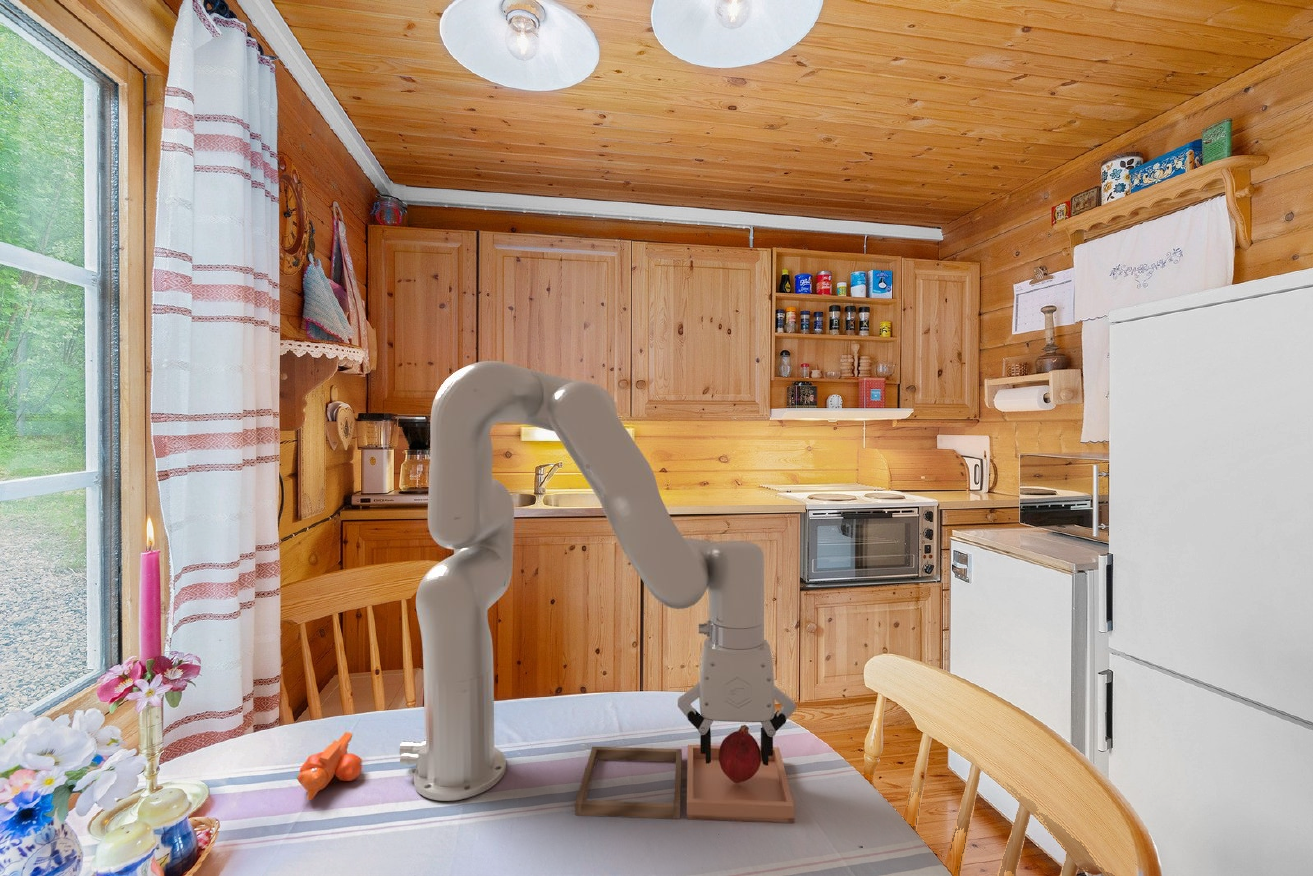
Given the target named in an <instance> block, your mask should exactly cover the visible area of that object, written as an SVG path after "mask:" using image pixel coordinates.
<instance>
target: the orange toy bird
mask: <svg viewBox="0 0 1313 876" xmlns="http://www.w3.org/2000/svg"><path fill="white" fill-rule="evenodd" d="M352 738H353V733H351V732H347V731H345V732H344V734H343V735H342V736H340V738H339V739H338V740H333V741H332V743H331V744H329V745H328V746H326V747H325V749H323V751H321V752H317V753H315V754H312V755H309V756H308V758H307V759H306V760H305V762H304V763H303V764H302V765H301V766H300V768H299V774H298V776H296V779H297V781H298V783H299V784H300V785H301V786H302V787H303V788H304V792H306V793H307V800H309V801H312V800H313V799H314V798H315V797H316V795H317V793H318V792H319V791H322V790H323V789H324V788H326V787H327V786H328V784H330V782H331V780H332V779H333V778H334V776H335V777H336V778H338V780H339V781H344V782H351V781H354V780H356V779H357V778H358V777H359V776H360V775H361V773H362V771H363V764H362V759H361V757H360V756H358V755H357V754H354V753H348V748H349V743H350V742H351V741H352ZM355 778H356V779H355ZM353 779H354V780H353Z"/></svg>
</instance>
